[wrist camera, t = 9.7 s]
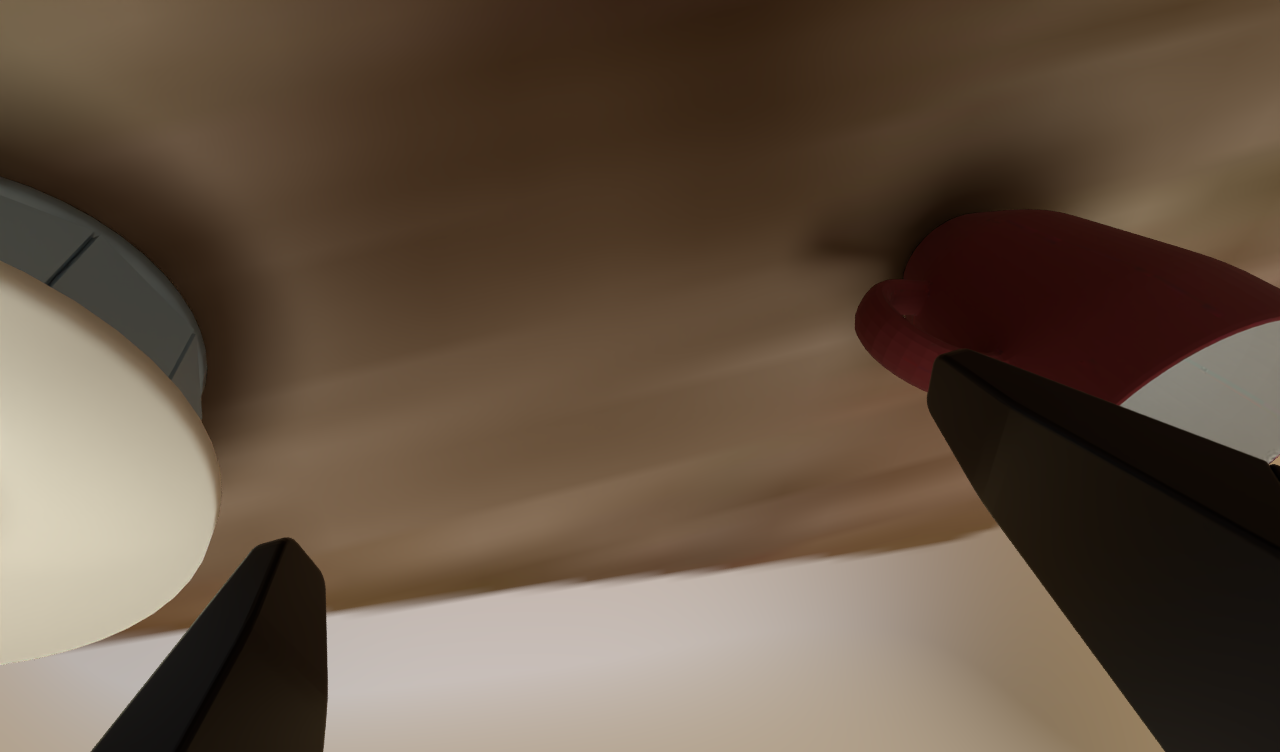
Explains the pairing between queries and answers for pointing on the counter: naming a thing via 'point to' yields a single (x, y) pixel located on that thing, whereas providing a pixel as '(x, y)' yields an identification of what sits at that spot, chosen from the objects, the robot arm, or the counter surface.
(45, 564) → the lid
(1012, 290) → the mug
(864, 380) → the counter surface
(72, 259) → the bowl
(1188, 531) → the robot arm
